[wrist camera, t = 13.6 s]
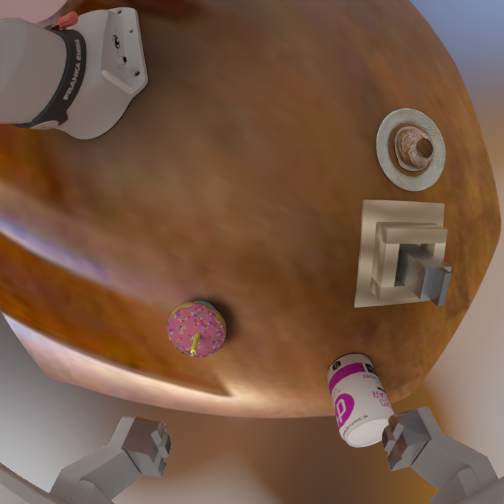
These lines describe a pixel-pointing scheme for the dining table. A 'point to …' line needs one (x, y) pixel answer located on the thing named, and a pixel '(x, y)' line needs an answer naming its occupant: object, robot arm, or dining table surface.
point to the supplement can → (358, 400)
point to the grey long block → (423, 273)
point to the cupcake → (196, 329)
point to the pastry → (411, 149)
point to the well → (394, 247)
